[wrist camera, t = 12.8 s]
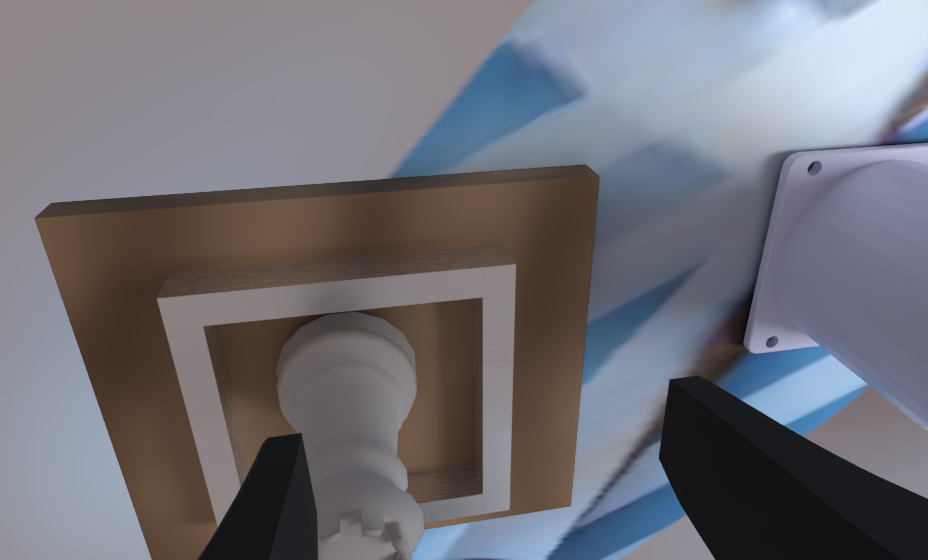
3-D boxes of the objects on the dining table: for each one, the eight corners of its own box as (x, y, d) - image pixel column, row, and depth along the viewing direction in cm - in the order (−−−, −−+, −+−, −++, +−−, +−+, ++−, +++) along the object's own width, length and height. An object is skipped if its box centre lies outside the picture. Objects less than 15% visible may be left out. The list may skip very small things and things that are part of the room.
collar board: (585, 164, 21) (618, 192, 18) (561, 484, 27) (583, 535, 25) (51, 202, 18) (10, 240, 16) (163, 545, 25) (146, 608, 22)
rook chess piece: (428, 396, 22) (474, 599, 15) (303, 432, 22) (291, 657, 15) (395, 287, 20) (430, 465, 13) (256, 326, 20) (216, 530, 13)
